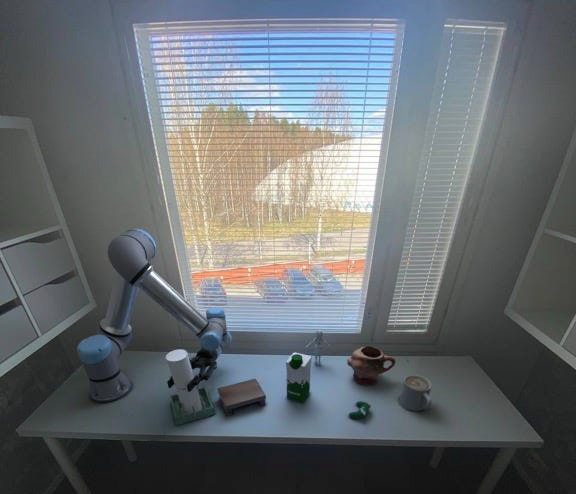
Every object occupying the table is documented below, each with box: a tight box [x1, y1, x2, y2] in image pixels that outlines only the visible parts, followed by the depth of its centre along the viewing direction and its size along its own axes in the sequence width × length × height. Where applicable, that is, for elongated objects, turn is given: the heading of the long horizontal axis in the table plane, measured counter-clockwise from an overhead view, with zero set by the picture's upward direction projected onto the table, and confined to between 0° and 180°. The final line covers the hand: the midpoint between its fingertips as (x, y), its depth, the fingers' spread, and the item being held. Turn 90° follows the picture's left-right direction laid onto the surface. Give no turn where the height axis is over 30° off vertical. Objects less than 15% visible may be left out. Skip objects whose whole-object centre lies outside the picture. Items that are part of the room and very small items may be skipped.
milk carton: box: [285, 352, 313, 404], centre depth 126 cm, size 9×9×20 cm
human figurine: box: [305, 329, 332, 366], centre depth 146 cm, size 12×4×18 cm, turn 90°
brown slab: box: [217, 378, 267, 416], centre depth 128 cm, size 12×16×5 cm
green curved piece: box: [348, 400, 372, 419], centre depth 122 cm, size 9×4×6 cm
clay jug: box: [346, 345, 396, 386], centre depth 138 cm, size 20×12×14 cm, turn 92°
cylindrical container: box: [165, 348, 202, 414], centre depth 118 cm, size 7×7×25 cm
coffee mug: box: [398, 374, 433, 412], centre depth 124 cm, size 13×10×10 cm
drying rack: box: [169, 385, 215, 426], centre depth 124 cm, size 14×14×7 cm
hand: (178, 386), depth 114 cm, fingers closed on cylindrical container, 7 cm apart
